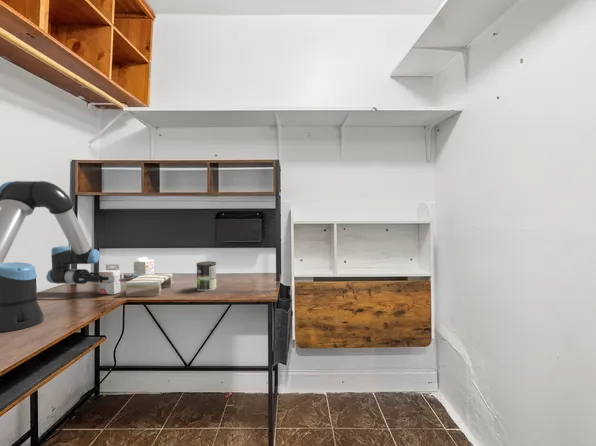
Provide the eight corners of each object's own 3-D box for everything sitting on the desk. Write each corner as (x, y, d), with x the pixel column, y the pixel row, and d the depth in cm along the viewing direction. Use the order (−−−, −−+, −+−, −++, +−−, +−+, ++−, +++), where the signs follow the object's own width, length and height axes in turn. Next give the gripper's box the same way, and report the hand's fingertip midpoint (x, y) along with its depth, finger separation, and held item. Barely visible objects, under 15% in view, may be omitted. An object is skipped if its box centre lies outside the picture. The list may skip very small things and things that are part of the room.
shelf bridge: (159, 295, 158) (158, 281, 158) (126, 296, 157) (125, 282, 157) (172, 285, 178) (172, 273, 178) (143, 286, 177) (143, 274, 177)
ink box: (145, 280, 192) (145, 258, 191) (133, 280, 193) (132, 258, 193) (154, 277, 200) (154, 256, 199) (143, 277, 202) (142, 256, 201)
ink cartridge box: (99, 294, 161) (97, 265, 160) (106, 291, 166) (105, 264, 165) (114, 294, 159) (112, 265, 159) (121, 291, 164) (119, 264, 164)
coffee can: (199, 292, 164) (199, 265, 163) (194, 287, 173) (194, 262, 172) (219, 289, 170) (218, 263, 169) (213, 285, 178) (212, 260, 178)
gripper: (91, 279, 173) (130, 280, 171) (63, 287, 155) (106, 288, 153) (91, 266, 173) (130, 266, 170) (62, 272, 155) (106, 273, 152)
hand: (119, 277), depth 162 cm, fingers closed on ink cartridge box, 5 cm apart
